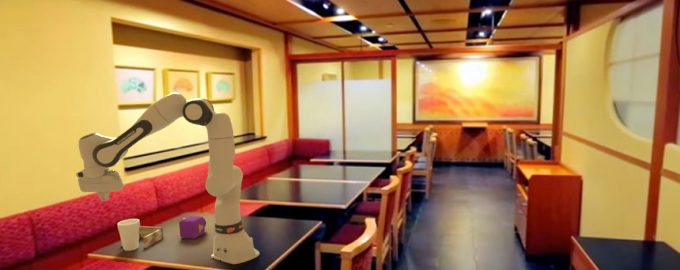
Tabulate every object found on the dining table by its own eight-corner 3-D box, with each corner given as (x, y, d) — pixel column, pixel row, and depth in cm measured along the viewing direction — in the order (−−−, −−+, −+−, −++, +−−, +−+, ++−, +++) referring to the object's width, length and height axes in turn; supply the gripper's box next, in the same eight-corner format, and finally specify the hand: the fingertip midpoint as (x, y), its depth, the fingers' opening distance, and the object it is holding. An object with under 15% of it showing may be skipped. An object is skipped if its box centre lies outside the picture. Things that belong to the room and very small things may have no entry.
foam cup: (121, 246, 203) (118, 220, 201) (142, 243, 206) (139, 217, 205) (119, 253, 194) (116, 226, 193) (141, 249, 198) (138, 223, 196)
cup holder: (145, 247, 200) (144, 236, 199) (121, 246, 203) (120, 235, 203) (163, 237, 212) (162, 227, 212) (140, 236, 216) (139, 226, 215)
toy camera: (210, 230, 221) (208, 212, 220) (198, 239, 208) (197, 220, 207) (190, 230, 222) (189, 212, 221) (178, 239, 209) (176, 220, 208)
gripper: (122, 167, 180) (130, 197, 183) (84, 169, 185) (92, 197, 189) (111, 172, 174) (119, 203, 177) (72, 173, 180) (81, 203, 183)
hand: (105, 200), depth 183 cm, fingers closed
